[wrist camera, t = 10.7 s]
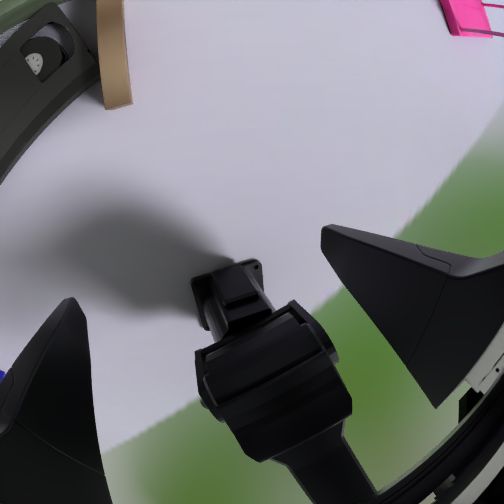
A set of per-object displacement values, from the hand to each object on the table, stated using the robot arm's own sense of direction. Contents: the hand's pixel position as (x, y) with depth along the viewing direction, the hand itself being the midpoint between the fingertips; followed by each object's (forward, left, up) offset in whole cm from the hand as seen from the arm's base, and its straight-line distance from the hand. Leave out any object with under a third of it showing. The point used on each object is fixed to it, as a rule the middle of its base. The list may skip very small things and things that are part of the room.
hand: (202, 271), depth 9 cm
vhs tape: (+9, +11, -13) cm, 19 cm away
